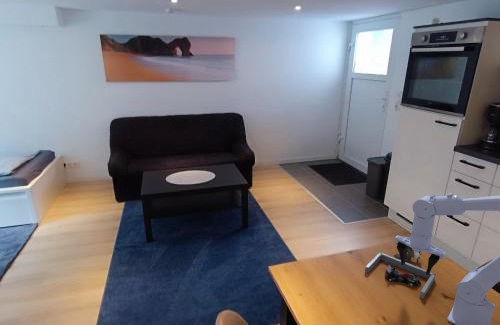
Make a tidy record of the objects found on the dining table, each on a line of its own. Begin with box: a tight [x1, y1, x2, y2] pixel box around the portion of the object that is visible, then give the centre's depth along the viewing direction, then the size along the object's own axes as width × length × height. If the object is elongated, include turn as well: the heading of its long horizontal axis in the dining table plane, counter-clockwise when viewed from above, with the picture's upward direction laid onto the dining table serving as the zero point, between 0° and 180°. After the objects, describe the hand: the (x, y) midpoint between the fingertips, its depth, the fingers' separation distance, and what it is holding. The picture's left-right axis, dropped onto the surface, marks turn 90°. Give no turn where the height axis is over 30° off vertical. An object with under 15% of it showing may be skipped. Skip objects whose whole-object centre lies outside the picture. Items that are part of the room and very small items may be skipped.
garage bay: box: [364, 251, 436, 299], centre depth 111 cm, size 20×13×2 cm, turn 45°
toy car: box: [384, 263, 422, 288], centre depth 109 cm, size 6×12×4 cm, turn 64°
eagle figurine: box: [393, 243, 422, 262], centre depth 121 cm, size 8×7×9 cm
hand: (415, 268), depth 101 cm, fingers open, 7 cm apart
